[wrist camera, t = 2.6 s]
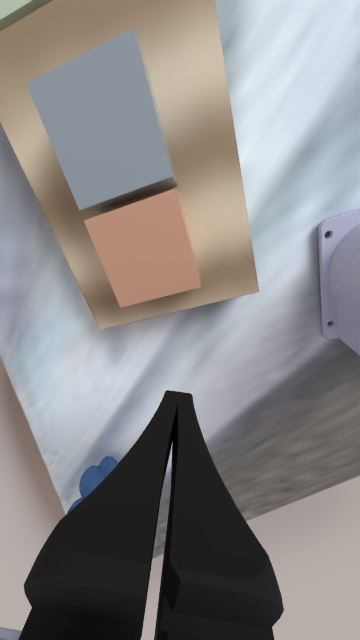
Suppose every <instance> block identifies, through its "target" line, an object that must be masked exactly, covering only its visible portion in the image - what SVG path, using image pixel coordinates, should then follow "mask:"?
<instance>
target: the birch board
mask: <svg viewBox="0 0 360 640" xmlns="http://www.w3.org/2000/svg"><path fill="white" fill-rule="evenodd" d="M132 28H134V29H135V32H136V35H137V38H138V41H139V44H140V46H141V49H142V52H143V55H144V58H145V61H146V64H147V67H148V70H149V74H150V78H151V82H152V86H153V90H154V93H155V97H156V101H157V105H158V109H159V113H160V117H161V121H162V125H163V129H164V133H165V137H166V141H167V145H168V149H169V153H170V157H171V161H172V164H173V168H174V172H175V176H176V180H177V185H174V186H171V187H169V188H166V189H163V190H160V191H157V192H155V193H152V194H149V195H146V196H143V197H141V198H138V199H135V200H132V201H129V202H127V203H124V204H121V205H118V206H115V207H112V208H110V209H107V210H104V211H101V212H94V211H82V210H79V208H78V206H77V203H76V201H75V199H74V196H73V194H72V192H71V189H70V187H69V185H68V182H67V180H66V177H65V175H64V173H63V170H62V168H61V166H60V163H59V161H58V158H57V156H56V154H55V151H54V149H53V147H52V144H51V142H50V140H49V137H48V135H47V132H46V130H45V128H44V125H43V123H42V121H41V118H40V116H39V113H38V111H37V109H36V106H35V104H34V102H33V99H32V97H31V95H30V92H29V90H28V87H27V85H26V84H27V83H28V82H30V81H32V80H34V79H36V78H38V77H40V76H42V75H44V74H46V73H48V72H50V71H52V70H53V69H55V68H57V67H59V66H61V65H63V64H65V63H67V62H69V61H71V60H73V59H75V58H77V57H79V56H80V55H82V54H84V53H86V52H88V51H90V50H92V49H94V48H96V47H98V46H100V45H102V44H104V43H105V42H107V41H109V40H111V39H113V38H115V37H117V36H119V35H121V34H123V33H125V32H127V31H129V30H130V29H132ZM0 123H1V125H2V127H3V129H4V131H5V133H6V135H7V137H8V139H9V141H10V143H11V146H12V148H13V150H14V152H15V154H16V156H17V158H18V160H19V162H20V164H21V166H22V168H23V170H24V173H25V175H26V177H27V179H28V181H29V183H30V185H31V187H32V189H33V191H34V193H35V195H36V197H37V200H38V202H39V204H40V206H41V208H42V210H43V212H44V214H45V216H46V218H47V220H48V222H49V224H50V227H51V229H52V231H53V233H54V235H55V237H56V239H57V241H58V243H59V245H60V247H61V249H62V251H63V254H64V256H65V258H66V260H67V262H68V264H69V266H70V268H71V270H72V272H73V274H74V276H75V279H76V281H77V283H78V285H79V287H80V289H81V291H82V293H83V295H84V297H85V299H86V301H87V303H88V306H89V308H90V310H91V312H92V314H93V316H94V318H95V320H96V322H97V324H98V326H99V328H100V330H102V329H106V328H110V327H114V326H118V325H123V324H127V323H131V322H135V321H139V320H144V319H148V318H152V317H156V316H160V315H164V314H169V313H173V312H177V311H181V310H185V309H189V308H194V307H198V306H202V305H206V304H210V303H215V302H219V301H223V300H227V299H231V298H235V297H240V296H244V295H248V294H252V293H256V292H259V287H258V281H257V274H256V268H255V261H254V255H253V248H252V241H251V235H250V228H249V222H248V215H247V209H246V202H245V196H244V189H243V183H242V176H241V169H240V163H239V156H238V150H237V143H236V137H235V130H234V124H233V117H232V111H231V104H230V98H229V91H228V84H227V78H226V71H225V65H224V58H223V52H222V45H221V39H220V32H219V26H218V19H217V12H216V6H215V0H53V1H51V2H49V3H48V4H46V5H44V6H42V7H41V8H39V9H37V10H36V11H34V12H32V13H31V14H29V15H27V16H26V17H24V18H22V19H20V20H19V21H17V22H15V23H14V24H12V25H10V26H9V27H7V28H5V29H4V30H2V31H0ZM175 188H176V190H177V191H178V192H179V193H180V196H181V200H182V204H183V208H184V212H185V216H186V220H187V224H188V228H189V232H190V235H191V239H192V243H193V247H194V251H195V255H196V259H197V263H198V267H199V271H200V275H201V287H200V288H196V289H192V290H188V291H184V292H180V293H176V294H172V295H168V296H164V297H161V298H157V299H153V300H149V301H145V302H141V303H137V304H133V305H129V306H125V307H121V308H120V305H119V303H118V301H117V298H116V296H115V293H114V291H113V289H112V286H111V284H110V282H109V279H108V277H107V275H106V272H105V270H104V267H103V265H102V263H101V260H100V258H99V256H98V253H97V251H96V248H95V246H94V244H93V241H92V239H91V237H90V234H89V232H88V230H87V227H86V225H85V222H84V220H87V219H90V218H93V217H95V216H98V215H101V214H104V213H107V212H110V211H112V210H115V209H118V208H121V207H124V206H127V205H129V204H132V203H135V202H138V201H141V200H144V199H146V198H149V197H152V196H155V195H158V194H161V193H163V192H166V191H169V190H172V189H175Z"/></svg>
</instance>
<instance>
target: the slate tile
mask: <svg viewBox="0 0 360 640" xmlns="http://www.w3.org/2000/svg"><path fill="white" fill-rule="evenodd" d="M26 85H27V87H28V90H29V92H30V95H31V97H32V99H33V102H34V104H35V106H36V109H37V111H38V113H39V116H40V118H41V121H42V123H43V125H44V128H45V130H46V132H47V135H48V137H49V140H50V142H51V144H52V147H53V149H54V151H55V154H56V156H57V158H58V161H59V163H60V166H61V168H62V170H63V173H64V175H65V177H66V180H67V182H68V185H69V187H70V189H71V192H72V194H73V196H74V199H75V201H76V203H77V206H78V208H79V210H82V211H94V212H101V211H104V210H107V209H110V208H112V207H115V206H118V205H121V204H124V203H127V202H129V201H132V200H135V199H138V198H141V197H143V196H146V195H149V194H152V193H155V192H157V191H160V190H163V189H166V188H169V187H171V186H174V185H177V180H176V176H175V172H174V168H173V164H172V161H171V157H170V153H169V149H168V145H167V141H166V137H165V133H164V129H163V125H162V121H161V117H160V113H159V109H158V105H157V101H156V97H155V93H154V90H153V86H152V82H151V78H150V74H149V70H148V67H147V64H146V61H145V58H144V55H143V52H142V49H141V46H140V44H139V41H138V38H137V35H136V32H135V29H134V28H132V29H130V30H129V31H127V32H125V33H123V34H121V35H119V36H117V37H115V38H113V39H111V40H109V41H107V42H105V43H104V44H102V45H100V46H98V47H96V48H94V49H92V50H90V51H88V52H86V53H84V54H82V55H80V56H79V57H77V58H75V59H73V60H71V61H69V62H67V63H65V64H63V65H61V66H59V67H57V68H55V69H53V70H52V71H50V72H48V73H46V74H44V75H42V76H40V77H38V78H36V79H34V80H32V81H30V82H28V83H27V84H26Z"/></svg>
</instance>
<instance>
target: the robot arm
mask: <svg viewBox="0 0 360 640" xmlns="http://www.w3.org/2000/svg"><path fill="white" fill-rule="evenodd" d="M327 231H329V232H330V235H329V236H328V237H327V238H325V233H326V232H327ZM318 240H319V265H320V291H321V316H322V335H323V336H324V337H325V338H326V339H328V340H330V339H336V338H339V339H341V340H342V341H343V342H344V343H345V344H346V345H348V346H349V347H350V348H351V349H352V350H353V351H355V352H356V353H357V354H358V355H359V356H360V210H356V211H353V212H349V213H346V214H342V215H339V216H335V217H332V218H328V219H325V220H323V221H322V222H321V223H320V224H319V226H318ZM329 321H332V322H331V323H330V324H329V325H327V323H328V322H329ZM172 441H173V445H172ZM171 446H172V472H171V494H170V505H169V514H168V523H167V532H166V541H165V550H164V558H163V567H162V577H161V585H160V593H159V602H158V611H157V620H156V628H155V637H154V640H274V636H273V630H272V626H273V625H274V624H275V623H276V622H277V620H279V619H280V617H281V615H282V613H283V610H284V608H283V603H282V597H281V593H280V590H279V586H278V583H277V580H276V576H275V573H274V570H273V567H272V564H271V562H270V559H269V556H268V555H267V553H266V551H265V550H264V548H263V547H262V545H261V544H260V543H259V541H258V540H257V538H256V537H255V535H254V533H253V532H252V530H251V529H250V527H249V526H248V524H247V523H246V521H245V519H244V518H243V516H242V514H241V513H240V511H239V510H238V508H237V506H236V504H235V503H234V501H233V499H232V497H231V495H230V494H229V492H228V490H227V488H226V487H225V485H224V483H223V481H222V479H221V477H220V475H219V473H218V471H217V469H216V467H215V465H214V462H213V460H212V458H211V456H210V453H209V451H208V449H207V446H206V443H205V441H204V438H203V435H202V433H201V429H200V426H199V423H198V420H197V417H196V413H195V409H194V404H193V397H192V395H191V394H190V393H183V392H176V391H169V390H167V391H166V392H165V394H164V397H163V399H162V401H161V403H160V405H159V407H158V409H157V411H156V413H155V414H154V416H153V418H152V419H151V421H150V423H149V424H148V426H147V427H146V429H145V430H144V431H143V433H142V434H141V436H140V437H139V439H138V440H137V441H136V443H135V444H134V445H133V447H132V448H131V449H130V450H129V452H128V453H127V454H126V455H125V456H124V458H123V459H122V460H121V461H120V462H119V463H118V465H117V466H116V467H115V468H114V469H113V470H112V471H111V472H110V473H109V474H108V476H107V477H106V478H105V479H104V480H103V481H102V482H101V483H100V484H99V485H98V486H97V487H96V488H95V489H94V490H93V491H92V492H91V493H90V494H89V495H88V496H86V497H85V498H84V499H83V500H82V501H81V502H80V503H79V504H78V505H77V506H75V507H74V508H73V509H72V510H71V511H70V512H69V513H68V514H67V515H65V516H64V517H63V518H62V519H61V520H60V521H59V523H58V524H57V525H56V527H55V528H54V530H53V531H52V533H51V534H50V536H49V537H48V539H47V541H46V542H45V544H44V546H43V547H42V549H41V551H40V553H39V554H38V556H37V558H36V560H35V562H34V565H33V567H32V569H31V571H30V573H29V575H28V577H27V579H26V581H25V584H24V590H25V594H26V596H27V598H28V600H29V602H30V604H31V606H32V609H31V611H30V614H29V616H28V618H27V621H26V623H25V625H24V628H23V630H22V631H18V630H13V629H7V628H2V627H0V640H140V639H141V636H142V628H143V621H144V614H145V607H146V600H147V592H148V585H149V578H150V571H151V562H152V556H153V549H154V542H155V535H156V527H157V520H158V513H159V506H160V499H161V493H162V488H163V483H164V478H165V473H166V469H167V464H168V460H169V455H170V450H171Z"/></svg>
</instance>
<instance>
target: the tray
mask: <svg viewBox="0 0 360 640" xmlns="http://www.w3.org/2000/svg"><path fill="white" fill-rule="evenodd" d="M51 1H53V0H0V31H2V30H4V29H5V28H7V27H9V26H10V25H12V24H14V23H15V22H17V21H19V20H20V19H22V18H24V17H26V16H27V15H29V14H31V13H32V12H34V11H36V10H37V9H39V8H41V7H42V6H44V5H46V4H48V3H49V2H51Z"/></svg>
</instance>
